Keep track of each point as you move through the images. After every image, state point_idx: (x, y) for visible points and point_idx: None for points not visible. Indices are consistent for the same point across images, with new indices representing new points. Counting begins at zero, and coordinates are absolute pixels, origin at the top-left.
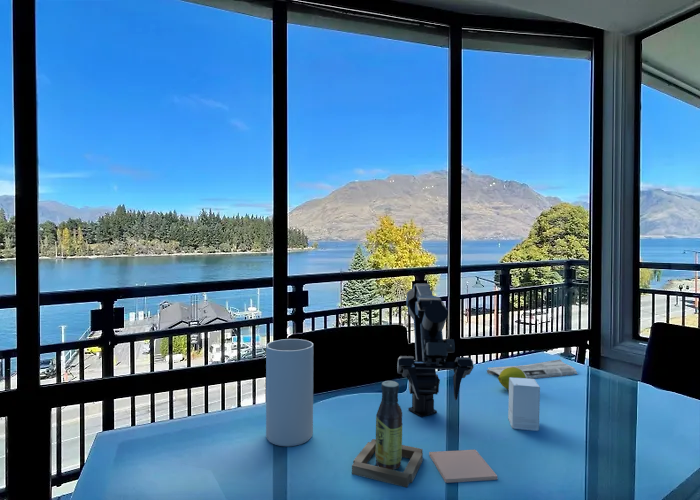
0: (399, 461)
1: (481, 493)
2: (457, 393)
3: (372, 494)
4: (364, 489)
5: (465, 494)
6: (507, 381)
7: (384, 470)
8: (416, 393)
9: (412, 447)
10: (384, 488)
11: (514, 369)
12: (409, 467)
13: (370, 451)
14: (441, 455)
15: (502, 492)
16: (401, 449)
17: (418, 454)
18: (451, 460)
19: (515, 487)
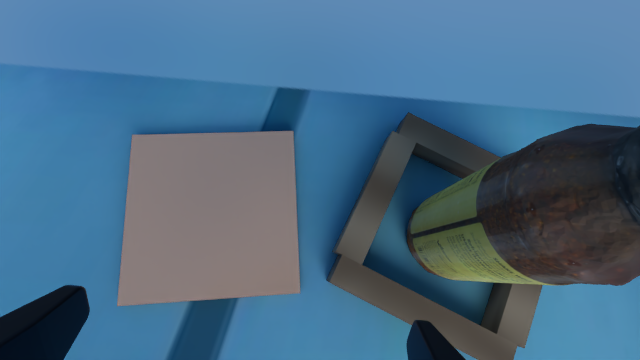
0: (420, 205)
1: (215, 85)
2: (17, 311)
3: (485, 104)
4: (505, 124)
5: (258, 85)
6: None
7: (469, 155)
8: (454, 349)
9: (364, 295)
10: (456, 124)
11: None
12: (394, 165)
13: None
14: (263, 266)
15: (156, 84)
16: (426, 211)
17: (352, 242)
18: (240, 231)
19: (106, 101)
